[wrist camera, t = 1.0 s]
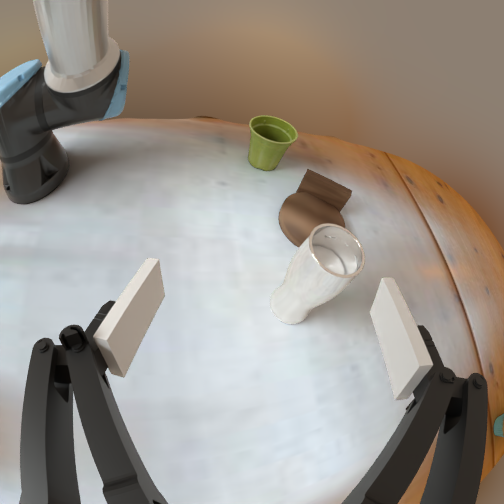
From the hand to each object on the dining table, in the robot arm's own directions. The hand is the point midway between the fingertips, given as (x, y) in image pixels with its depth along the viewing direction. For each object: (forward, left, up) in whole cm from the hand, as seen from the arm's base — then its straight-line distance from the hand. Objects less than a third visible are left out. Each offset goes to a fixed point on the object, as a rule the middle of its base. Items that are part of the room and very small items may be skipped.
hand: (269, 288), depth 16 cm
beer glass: (-5, +12, -22) cm, 25 cm away
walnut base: (-18, +22, -22) cm, 35 cm away
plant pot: (-35, +19, -22) cm, 45 cm away
